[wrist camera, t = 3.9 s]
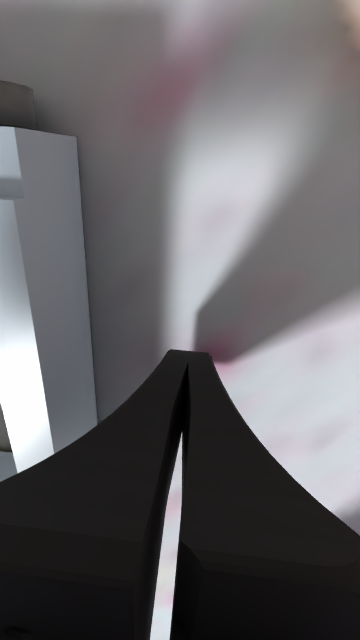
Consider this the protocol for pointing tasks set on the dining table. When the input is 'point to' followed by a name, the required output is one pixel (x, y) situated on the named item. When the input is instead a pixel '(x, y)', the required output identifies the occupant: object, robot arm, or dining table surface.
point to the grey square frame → (41, 289)
